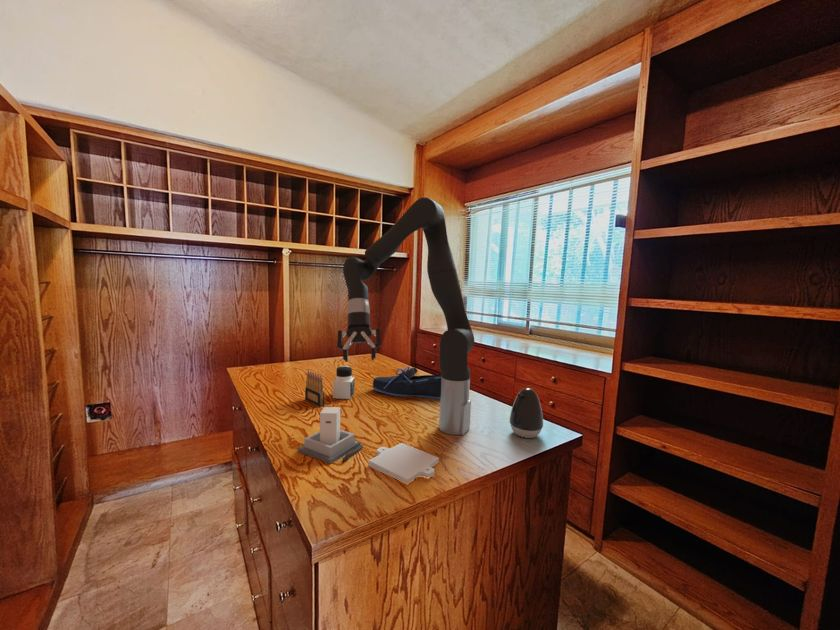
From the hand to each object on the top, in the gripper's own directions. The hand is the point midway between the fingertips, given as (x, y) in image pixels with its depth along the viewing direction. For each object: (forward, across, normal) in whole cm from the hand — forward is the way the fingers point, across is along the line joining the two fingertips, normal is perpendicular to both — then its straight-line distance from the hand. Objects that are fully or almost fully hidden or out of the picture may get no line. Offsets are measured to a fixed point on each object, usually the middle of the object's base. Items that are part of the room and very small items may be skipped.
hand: (359, 360), depth 113 cm
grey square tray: (+26, -8, -10) cm, 29 cm away
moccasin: (+11, +19, +34) cm, 40 cm away
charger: (+24, -8, -11) cm, 28 cm away
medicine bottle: (+10, -9, +30) cm, 33 cm away
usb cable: (+27, -1, -14) cm, 30 cm away
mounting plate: (+31, +12, -19) cm, 38 cm away
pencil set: (+12, -19, +23) cm, 32 cm away
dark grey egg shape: (+27, +52, -3) cm, 58 cm away
